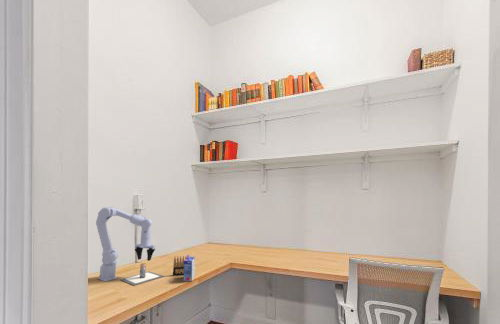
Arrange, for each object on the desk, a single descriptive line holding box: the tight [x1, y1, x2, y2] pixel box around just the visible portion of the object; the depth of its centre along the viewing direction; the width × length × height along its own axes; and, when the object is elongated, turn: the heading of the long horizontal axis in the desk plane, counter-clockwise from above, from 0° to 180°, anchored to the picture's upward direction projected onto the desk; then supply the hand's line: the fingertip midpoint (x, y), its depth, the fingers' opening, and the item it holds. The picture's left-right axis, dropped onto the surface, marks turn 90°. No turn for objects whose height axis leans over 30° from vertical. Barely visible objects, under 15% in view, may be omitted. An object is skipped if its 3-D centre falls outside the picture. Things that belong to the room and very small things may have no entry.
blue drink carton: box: [183, 254, 196, 282], centre depth 155 cm, size 10×6×14 cm, turn 2°
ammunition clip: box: [172, 255, 190, 277], centre depth 163 cm, size 11×2×12 cm, turn 100°
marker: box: [139, 262, 147, 278], centre depth 155 cm, size 3×3×8 cm
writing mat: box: [119, 271, 164, 286], centre depth 155 cm, size 16×20×1 cm
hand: (144, 259), depth 159 cm, fingers open, 7 cm apart
